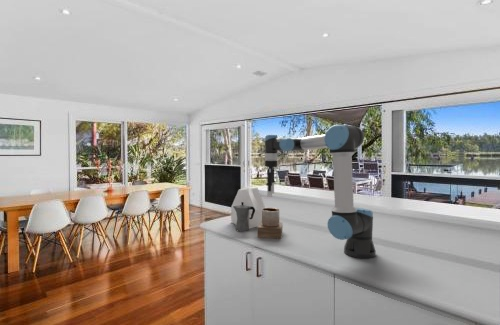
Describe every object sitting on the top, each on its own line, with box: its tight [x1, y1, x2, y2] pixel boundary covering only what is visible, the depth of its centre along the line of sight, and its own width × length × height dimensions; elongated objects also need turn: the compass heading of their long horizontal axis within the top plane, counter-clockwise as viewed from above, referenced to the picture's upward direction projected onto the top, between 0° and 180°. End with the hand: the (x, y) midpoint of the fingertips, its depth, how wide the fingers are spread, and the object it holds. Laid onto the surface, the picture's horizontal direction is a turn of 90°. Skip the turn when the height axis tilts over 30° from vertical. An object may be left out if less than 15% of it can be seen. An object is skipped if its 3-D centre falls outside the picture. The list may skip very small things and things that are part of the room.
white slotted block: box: [230, 186, 266, 229], centre depth 208 cm, size 19×15×25 cm
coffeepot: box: [233, 202, 255, 232], centre depth 193 cm, size 15×9×18 cm, turn 69°
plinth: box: [257, 221, 283, 240], centre depth 183 cm, size 14×14×6 cm
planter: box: [262, 207, 280, 227], centre depth 182 cm, size 11×11×10 cm
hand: (270, 194), depth 182 cm, fingers open, 13 cm apart
